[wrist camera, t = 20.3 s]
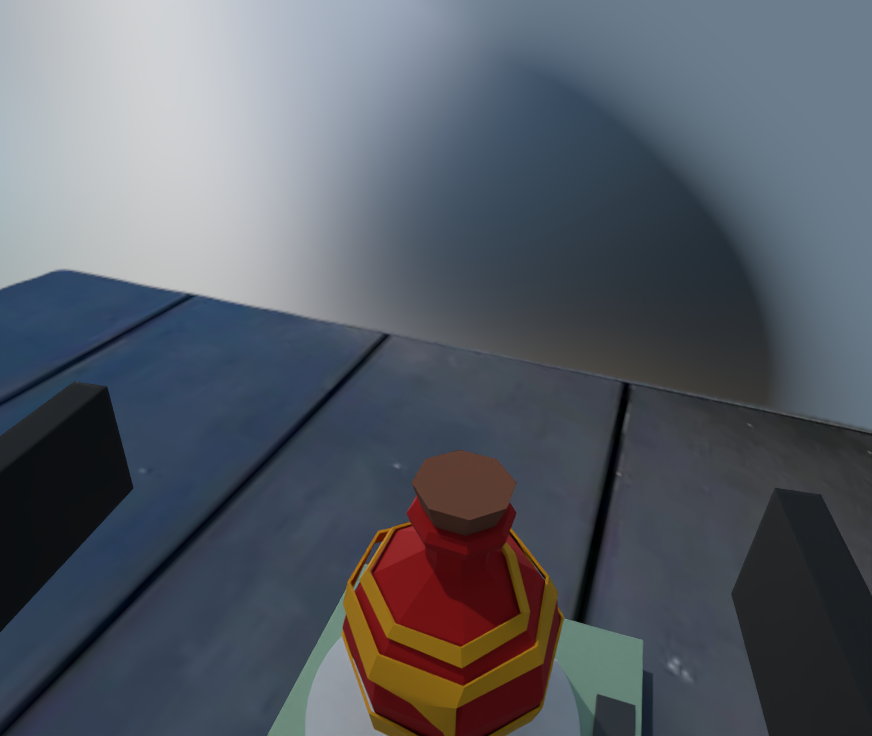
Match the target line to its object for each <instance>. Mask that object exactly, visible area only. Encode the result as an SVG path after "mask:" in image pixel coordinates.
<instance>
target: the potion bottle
mask: <svg viewBox="0 0 872 736" xmlns="http://www.w3.org/2000/svg"><path fill="white" fill-rule="evenodd" d="M516 483H517V482H516V481H515V480H514V479H513V478H512V477H511V475H510V474H509V473H508V472H507V471H506V470H505V468H504V467H503V466H502V465H501V464H500V463H499V462H498V460H497V459H494V458H490V457H486V456H482V455H478V454H474V453H470V452H466V451H462V450H458V451H454V452H450V453H447V454H443V455H439V456H435V457H431V458H427V459H425V461H424V463H423V464H422V466H421V468H420V469H419V471H418V473H417V474H416V476H415V478H414V479H413V481H412V485H413V487H414V490H415V492H416V494H417V496H416V498H415V499H414V501H413V503H412V505H411V506H410V508H409V510H408V512H407V515H408V518H409V520H410V522H407V523H404V524H401V525H397V526H394V527H393V528H388V529H384V530H380V531H378V532H377V534H376V535H375V537H374V539H373V540H372V542H371V544H370V545H369V547H368V549H367V550H366V552H365V554H364V555H363V557H362V559H361V560H360V562H359V564H358V565H357V567H356V569H355V570H354V572H353V574H352V575H351V577H350V579H349V580H348V583H347V587H346V592H345V596H344V601H343V606H344V609H345V612H346V616H345V619H344V623H343V627H342V628H343V630H342V633H341V635H342V638H343V641H344V644H345V647H346V650H347V653H348V655H349V658H350V661H351V664H352V667H353V670H354V673H355V676H356V679H357V681H358V684H359V687H360V690H361V693H362V696H363V699H364V702H365V705H366V708H367V710H368V713H369V716H370V719H371V722H372V725H373V728H374V729H375V730H377V731H379V732H381V733H383V734H386V735H388V736H506V735H508V734H510V733H512V732H513V731H515V730H517V729H519V728H521V727H522V726H524V725H526V724H528V723H530V722H532V721H533V719H534V718H535V717H536V716H537V715H538V713H539V712H540V711H541V710H542V709H543V705H544V700H545V696H546V692H547V688H548V684H549V680H550V675H551V671H552V667H553V663H554V659H555V654H556V650H557V646H558V642H559V638H560V633H561V629H562V625H563V621H564V616H563V614H562V613H561V611H560V609H559V607H558V604H557V596H558V592H557V590H556V588H555V586H554V584H553V583H552V581H551V579H550V577H549V576H548V574H547V573H546V572H545V570H544V569H543V568H542V567H541V565H540V564H539V563H538V562H537V560H536V559H535V558H534V557H533V555H532V554H531V553H530V551H529V550H528V549H527V548H526V546H525V545H524V544H523V543H522V541H521V540H520V539H519V537H518V536H517V535H516V534H515V532H514V531H513V530H512V529H511V527H512V524H513V521H514V518H515V515H516V511H515V510H514V508H513V507H512V505H511V504H510V503H509V502H510V499H511V496H512V494H513V491H514V488H515V486H516ZM381 541H383V542H382V543H381V545H380V547H379V548H378V550H377V551H376V553H375V555H374V556H373V558H372V560H371V561H370V563H369V565H368V566H367V568H366V570H365V571H364V573H363V574H362V576H361V578H360V579H359V580H360V582H359V584H358V586H357V588H356V589H355V591H354V589H353V588H354V586H355V584H356V582H357V579H358V577H359V575H360V573H361V571H362V569H363V567H364V565H365V562H366V560H367V558H368V556H369V554H370V552H371V550H372V547H373V545H374V544H375V543H378V542H381ZM532 562H533V563H534V564H533V563H532ZM534 565H535V566H536V568H537V569H538V570H539V572H540V573H541V574H542V576H543V577H544V579H545V581H544V579H543V578H542V577H541V575H540V574H539V573H538V571H537V569H536V568H535V566H534ZM353 659H354V661H355V663H354V661H353ZM355 664H356V666H357V669H358V671H359V674H360V677H361V679H362V682H363V684H364V687H365V689H366V692H367V694H368V697H369V699H370V702H371V704H372V707H373V709H374V712H375V713H374V712H372V711H371V709H370V706H369V703H368V700H367V697H366V695H365V692H364V689H363V686H362V683H361V680H360V678H359V675H358V672H357V669H356V666H355Z"/></svg>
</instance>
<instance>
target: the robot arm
mask: <svg viewBox="0 0 872 736" xmlns="http://www.w3.org/2000/svg"><path fill="white" fill-rule="evenodd" d="M132 489H133V484H132V481H131V477H130V473H129V469H128V465H127V461H126V457H125V454H124V450H123V446H122V442H121V438H120V434H119V430H118V426H117V423H116V419H115V415H114V411H113V407H112V403H111V399H110V395H109V392H108V388H107V386H100V385H94V384H87V383H80V382H73V383H71V384H70V385H69V386H67V387H66V388H65V389H63V390H62V391H61V392H59V393H58V394H57V395H55V396H54V397H53V398H51V399H50V400H48V401H47V402H46V403H44V404H43V405H42V406H40V407H39V408H38V409H36V410H35V411H34V412H32V413H31V414H30V415H28V416H27V417H26V418H24V419H23V420H21V421H20V422H19V423H17V424H16V425H15V426H13V427H12V428H11V429H9V430H8V431H7V432H5V433H4V434H3V435H1V436H0V632H1V631H2V630H3V629H4V628H5V626H6V625H7V624H8V623H9V622H10V621H11V620H12V619H13V618H14V617H15V616H16V615H17V614H18V612H19V611H20V610H21V609H22V608H23V607H24V606H25V605H26V604H27V603H28V602H29V601H30V599H31V598H32V597H33V596H34V595H35V594H36V593H37V592H38V591H39V590H40V589H41V588H42V587H43V585H44V584H45V583H46V582H47V581H48V580H49V579H50V578H51V577H52V576H53V575H54V574H55V572H56V571H57V570H58V569H59V568H60V567H61V566H62V565H63V564H64V563H65V562H66V561H67V560H68V558H69V557H70V556H71V555H72V554H73V553H74V552H75V551H76V550H77V549H78V548H79V547H80V545H81V544H82V543H83V542H84V541H85V540H86V539H87V538H88V537H89V536H90V535H91V534H92V533H93V531H94V530H95V529H96V528H97V527H98V526H99V525H100V524H101V523H102V522H103V521H104V520H105V518H106V517H107V516H108V515H109V514H110V513H111V512H112V511H113V510H114V509H115V508H116V507H117V506H118V504H119V503H120V502H121V501H122V500H123V499H124V498H125V497H126V496H127V495H128V494H129V493H130V491H131V490H132ZM731 594H732V598H733V601H734V605H735V609H736V613H737V616H738V620H739V624H740V628H741V631H742V635H743V639H744V643H745V647H746V650H747V654H748V658H749V662H750V665H751V669H752V673H753V677H754V680H755V684H756V688H757V692H758V695H759V699H760V703H761V707H762V710H763V714H764V718H765V722H766V725H767V729H768V733H769V736H872V595H871V593H870V591H869V589H868V587H867V585H866V583H865V581H864V579H863V577H862V575H861V573H860V571H859V569H858V567H857V566H856V564H855V562H854V560H853V558H852V556H851V554H850V552H849V550H848V548H847V546H846V544H845V542H844V540H843V538H842V536H841V534H840V532H839V530H838V528H837V526H836V524H835V522H834V520H833V518H832V516H831V514H830V512H829V510H828V508H827V506H826V504H825V502H824V500H823V498H822V496H821V495H819V494H812V493H806V492H799V491H793V490H786V489H779V488H775V489H774V491H773V493H772V496H771V498H770V501H769V503H768V506H767V508H766V511H765V513H764V515H763V518H762V520H761V523H760V525H759V528H758V530H757V532H756V535H755V537H754V540H753V542H752V545H751V547H750V549H749V552H748V554H747V557H746V559H745V562H744V564H743V567H742V569H741V571H740V574H739V576H738V579H737V581H736V584H735V586H734V588H733V591H732V593H731Z"/></svg>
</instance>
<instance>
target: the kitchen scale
mask: <svg viewBox="0 0 872 736" xmlns="http://www.w3.org/2000/svg"><path fill="white" fill-rule="evenodd" d="M367 566H368V565H367V564H365V565H364V567H363V569H362V571H361V573H360V575H359V577H358V579H357V582H356V584H355V586H354V588H353V589H354V591H355V589H356V588H357V586H358V584H359V582H360V580H359V579H360V578H361V576H362V574H363V573H364V571H365V570H366V568H367ZM345 592H346V591H345ZM345 592H344V594H343V596H342V598H341V600H340V602H339V604H338V605H337V607H336V609H335V611H334V613H333V615H332V617H331V618H330V620H329V622H328V624H327V626H326V628H325V630H324V631H323V633H322V635H321V637H320V639H319V641H318V642H317V644H316V646H315V648H314V650H313V652H312V654H311V655H310V657H309V659H308V661H307V663H306V665H305V667H304V668H303V670H302V672H301V674H300V676H299V678H298V680H297V681H296V683H295V685H294V687H293V689H292V691H291V693H290V694H289V696H288V698H287V700H286V702H285V704H284V706H283V707H282V709H281V711H280V713H279V715H278V717H277V719H276V720H275V722H274V724H273V726H272V728H271V730H270V732H269V733H268V735H267V736H388V735H386V734H383V733H381V732H379V731H377V730H375V729H374V728H373V725H372V722H371V719H370V716H369V713H368V710H367V708H366V705H365V702H364V699H363V696H362V693H361V690H360V687H359V684H358V681H357V679H356V676H355V673H354V670H353V667H352V664H351V661H350V658H349V655H348V653H347V650H346V647H345V644H344V641H343V638H342V635H341V633H342V630H343V628H342V627H343V623H344V619H345V616H346V612H345V609H344V606H343V601H344V596H345ZM353 661H354V659H353ZM354 663H355V661H354ZM355 666H356V664H355ZM356 669H357V666H356ZM357 672H358V675H359V678H360V680H361V683H362V686H363V689H364V692H365V695H366V697H367V700H368V703H369V706H370V709H371V711H372V712H374V709H373V707H372V704H371V702H370V699H369V697H368V694H367V692H366V689H365V687H364V684H363V682H362V679H361V677H360V674H359V671H358V669H357ZM642 681H643V640H640V639H636V638H633V637H629V636H625V635H622V634H618V633H615V632H611V631H607V630H604V629H600V628H596V627H593V626H589V625H585V624H582V623H578V622H575V621H571V620H567V619H564V621H563V625H562V629H561V633H560V638H559V642H558V646H557V650H556V654H555V659H554V663H553V667H552V671H551V675H550V680H549V684H548V688H547V692H546V696H545V700H544V705H543V709H542V710H541V711H540V712H539V713H538V715H537V716H536V717H535V718H534V719H533V721H532V722H530V723H528V724H526V725H524V726H522V727H521V728H519V729H517V730H515V731H513V732H512V733H510V734H508V735H506V736H641V731H642ZM374 713H375V712H374Z"/></svg>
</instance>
